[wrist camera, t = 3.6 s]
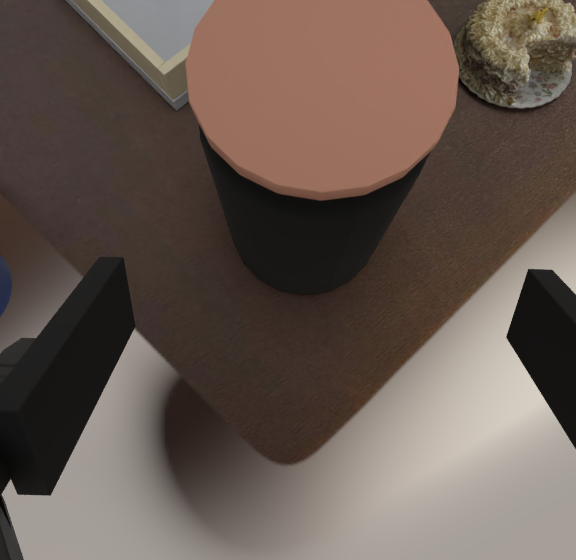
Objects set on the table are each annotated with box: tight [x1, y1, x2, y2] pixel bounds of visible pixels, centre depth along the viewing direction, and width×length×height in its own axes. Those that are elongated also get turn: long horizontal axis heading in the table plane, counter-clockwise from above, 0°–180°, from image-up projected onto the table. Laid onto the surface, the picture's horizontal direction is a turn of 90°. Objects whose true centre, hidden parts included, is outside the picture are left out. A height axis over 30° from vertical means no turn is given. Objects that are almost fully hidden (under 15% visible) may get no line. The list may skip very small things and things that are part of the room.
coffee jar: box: [185, 0, 459, 295], centre depth 27 cm, size 11×11×18 cm
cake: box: [453, 0, 576, 109], centre depth 37 cm, size 10×10×5 cm
